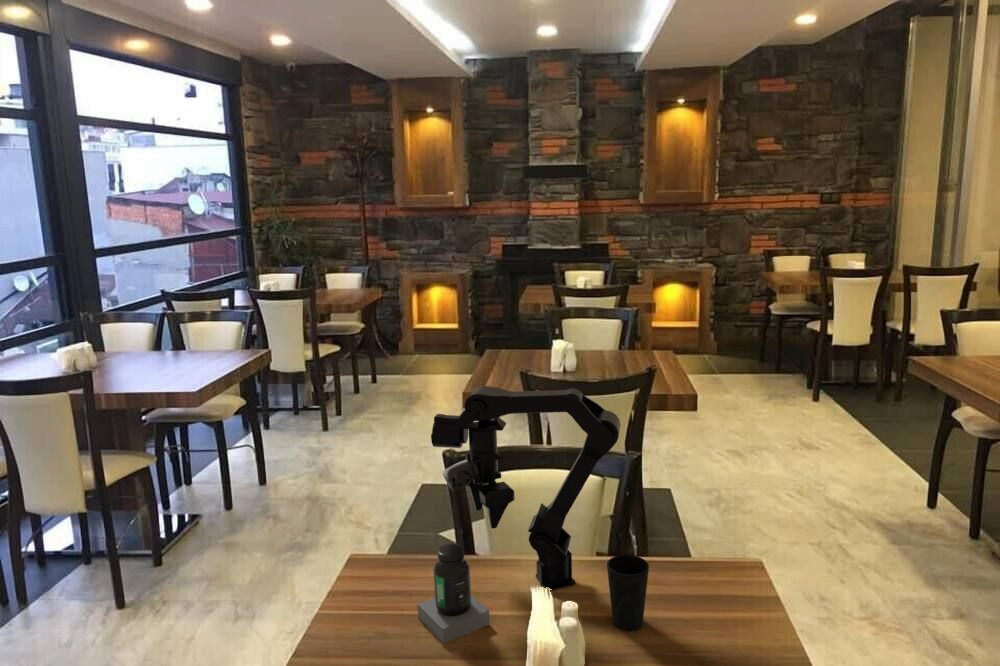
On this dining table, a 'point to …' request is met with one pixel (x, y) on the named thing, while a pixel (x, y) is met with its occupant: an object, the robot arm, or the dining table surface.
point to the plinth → (453, 620)
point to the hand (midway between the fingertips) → (486, 518)
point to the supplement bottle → (452, 581)
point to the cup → (627, 590)
